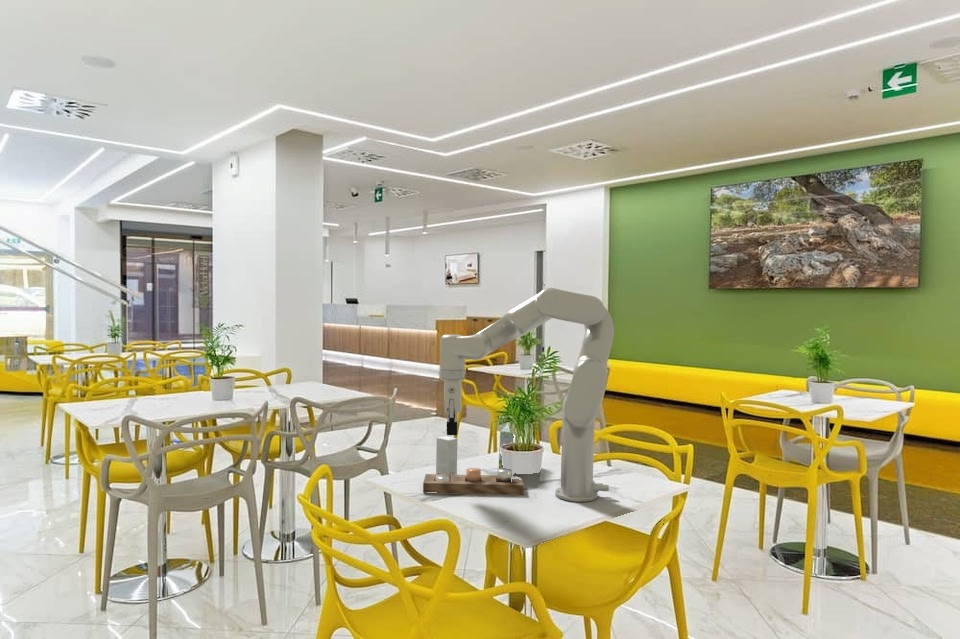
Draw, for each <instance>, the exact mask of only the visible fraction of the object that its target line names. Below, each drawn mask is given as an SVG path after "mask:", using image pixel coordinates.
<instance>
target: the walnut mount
mask: <svg viewBox="0 0 960 639" xmlns="http://www.w3.org/2000/svg"><path fill="white" fill-rule="evenodd" d="M439 475H446V476H449V477H450V481H435V477H436V476H439ZM422 483H423V484H422V493H423V492H437V493H436V494H451V493H460V495H467V494H468V495H506V496H507V495H511V496H513V495H514V496H523V495H524V482H523V479H522V480H519V479H512V482H497V474H496V475H495V474H493V475H491V474H490V475H489V474H487V475H486V474H481V481H480V482H467V481H466V474H455V475H449V474H438V473H436V474H435V473H425V476H424V478H423V482H422Z"/></svg>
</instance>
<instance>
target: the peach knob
mask: <svg viewBox="0 0 960 639" xmlns="http://www.w3.org/2000/svg"><path fill="white" fill-rule="evenodd" d="M465 470H466V471H465V472H466V473H465V475H466V481H467V482H480V481H481V475H482V470H481V468H480V467H479V468H477V467H468V468H466V469H465Z"/></svg>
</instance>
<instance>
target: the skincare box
mask: <svg viewBox="0 0 960 639" xmlns="http://www.w3.org/2000/svg"><path fill="white" fill-rule="evenodd" d="M435 454H436V455H435V456H436V457H435V458H436V460H435V461H436V464H435V473H436V474H438V473H439V474H449V475H458V438H457V437H452V436H451V437H450V436H448V435H446V436H438V437H436V452H435Z"/></svg>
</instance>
